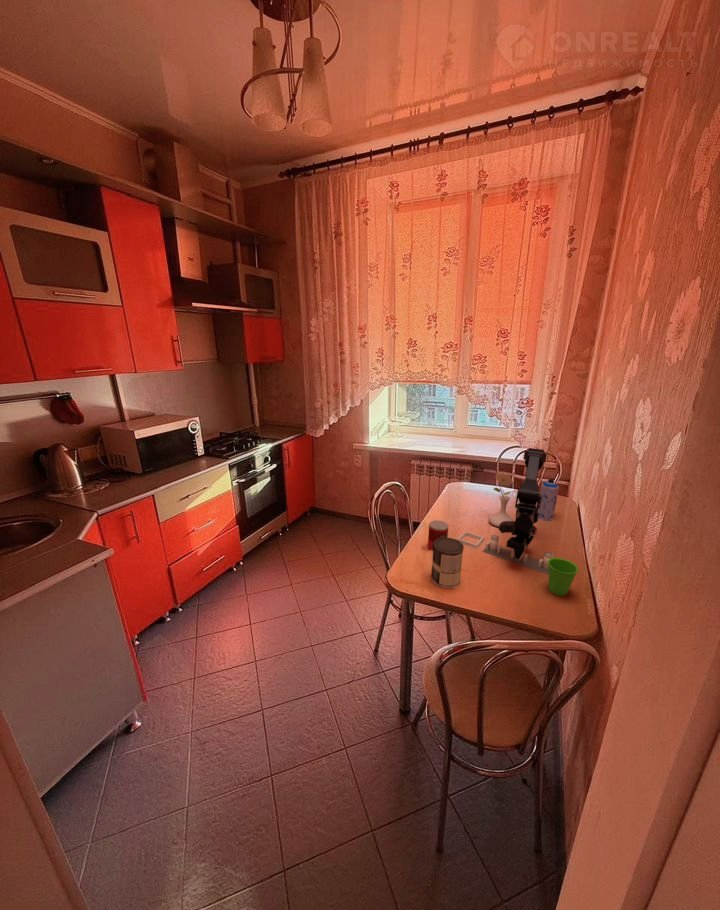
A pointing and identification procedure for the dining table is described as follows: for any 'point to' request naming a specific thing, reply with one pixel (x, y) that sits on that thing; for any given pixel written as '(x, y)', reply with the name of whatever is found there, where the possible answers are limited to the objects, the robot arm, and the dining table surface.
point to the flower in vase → (502, 501)
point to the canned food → (436, 532)
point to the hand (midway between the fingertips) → (519, 555)
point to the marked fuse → (520, 557)
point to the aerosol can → (548, 500)
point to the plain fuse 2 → (546, 557)
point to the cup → (561, 575)
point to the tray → (470, 542)
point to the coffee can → (447, 562)
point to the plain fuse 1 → (494, 543)
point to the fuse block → (510, 556)
